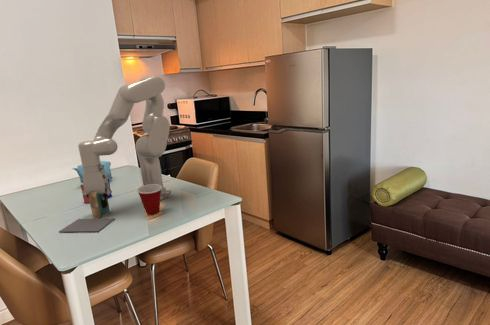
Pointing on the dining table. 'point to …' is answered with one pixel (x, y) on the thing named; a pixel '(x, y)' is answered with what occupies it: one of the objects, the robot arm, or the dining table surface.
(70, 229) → the mat
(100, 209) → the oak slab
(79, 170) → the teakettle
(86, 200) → the puzzle cube
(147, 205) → the plastic cup
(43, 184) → the dining table surface
